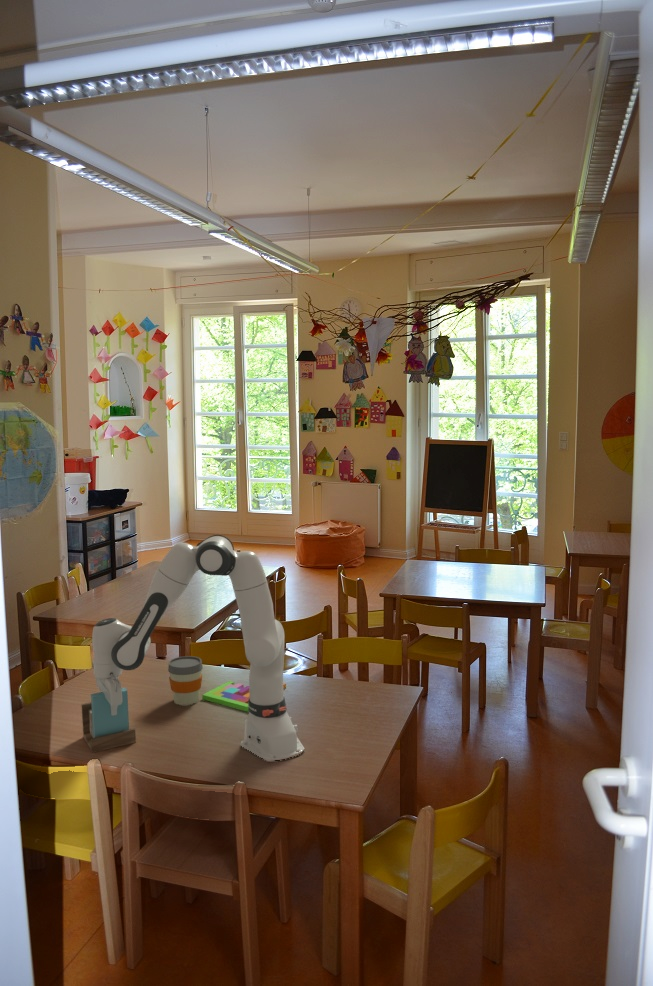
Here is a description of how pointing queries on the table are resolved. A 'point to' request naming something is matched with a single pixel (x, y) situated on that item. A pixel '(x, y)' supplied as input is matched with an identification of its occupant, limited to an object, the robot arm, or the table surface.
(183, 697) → the reusable coffee cup
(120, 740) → the stand
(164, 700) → the table surface
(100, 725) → the teal book
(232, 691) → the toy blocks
